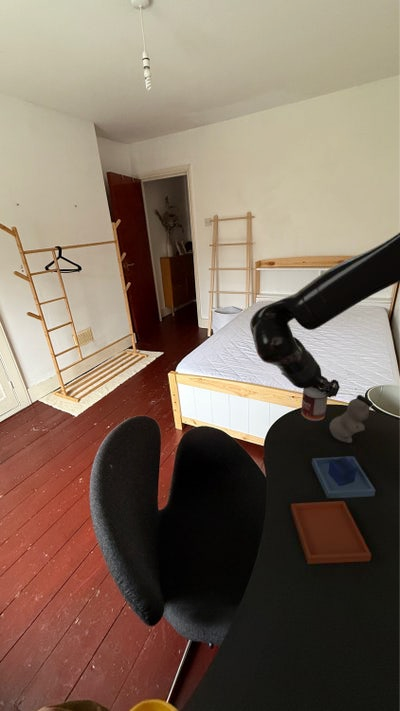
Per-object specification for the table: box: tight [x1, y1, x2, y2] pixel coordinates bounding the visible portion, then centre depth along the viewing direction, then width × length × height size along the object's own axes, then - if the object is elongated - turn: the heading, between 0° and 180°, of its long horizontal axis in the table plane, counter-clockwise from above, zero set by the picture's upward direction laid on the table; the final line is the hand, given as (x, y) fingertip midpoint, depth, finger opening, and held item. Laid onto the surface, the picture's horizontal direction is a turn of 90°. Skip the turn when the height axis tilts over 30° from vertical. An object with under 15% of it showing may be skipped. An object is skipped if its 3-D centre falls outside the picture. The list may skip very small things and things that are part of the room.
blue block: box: [328, 456, 357, 486], centre depth 76 cm, size 4×4×4 cm
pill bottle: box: [300, 375, 329, 422], centre depth 79 cm, size 6×6×11 cm
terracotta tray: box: [290, 500, 372, 565], centre depth 64 cm, size 12×12×2 cm
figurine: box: [328, 394, 374, 444], centre depth 87 cm, size 9×10×15 cm
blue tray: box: [311, 455, 376, 500], centre depth 76 cm, size 11×11×2 cm
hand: (318, 389), depth 79 cm, fingers closed on pill bottle, 6 cm apart
